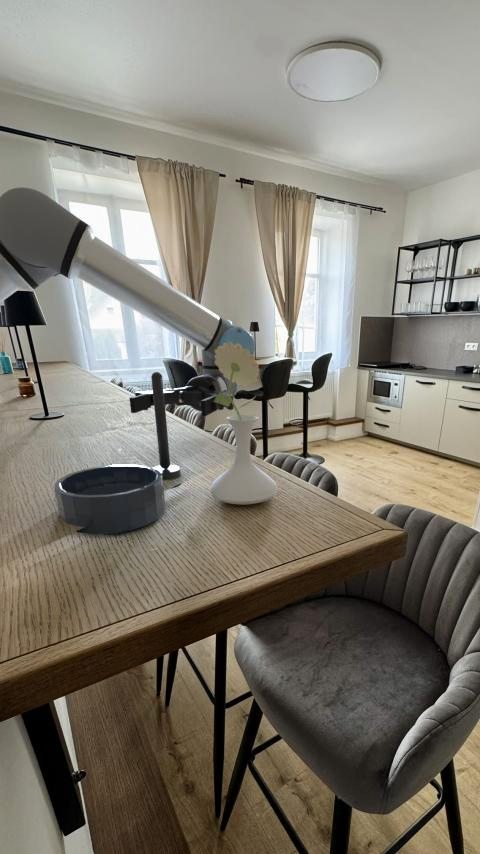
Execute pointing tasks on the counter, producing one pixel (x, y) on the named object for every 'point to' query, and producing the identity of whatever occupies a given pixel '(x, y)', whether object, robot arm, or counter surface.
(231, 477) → the flower in vase
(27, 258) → the robot arm
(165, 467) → the rod with disc base
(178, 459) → the counter surface
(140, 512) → the bowl
